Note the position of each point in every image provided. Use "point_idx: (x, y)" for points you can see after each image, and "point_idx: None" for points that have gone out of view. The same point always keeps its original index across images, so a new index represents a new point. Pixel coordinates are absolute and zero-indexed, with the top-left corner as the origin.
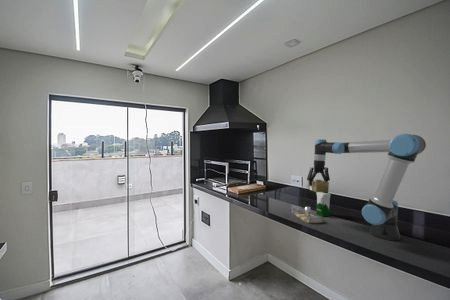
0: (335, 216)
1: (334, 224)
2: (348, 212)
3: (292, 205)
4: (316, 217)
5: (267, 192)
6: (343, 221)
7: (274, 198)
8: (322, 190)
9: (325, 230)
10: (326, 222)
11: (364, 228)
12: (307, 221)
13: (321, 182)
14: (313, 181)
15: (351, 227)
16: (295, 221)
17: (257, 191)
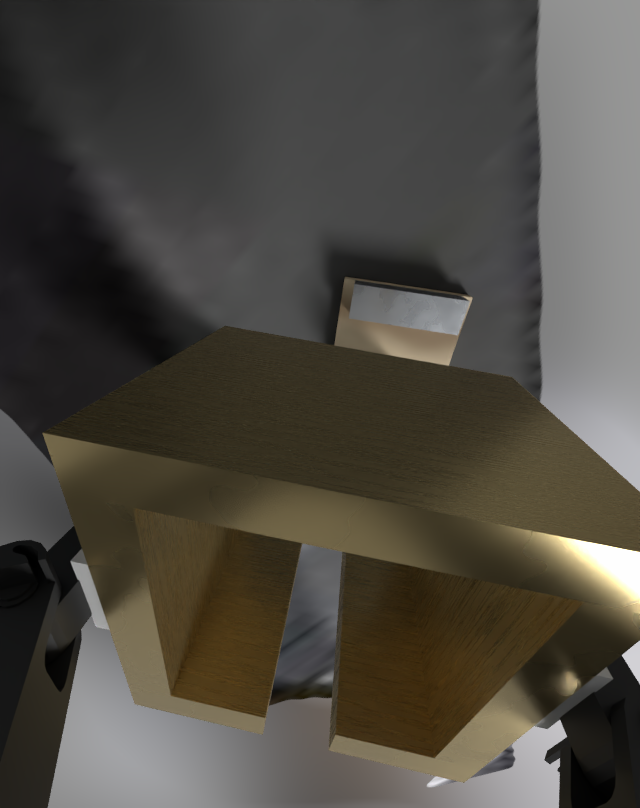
0: (172, 339)
1: (289, 212)
2: (42, 367)
3: (304, 544)
4: (402, 291)
5: (293, 676)
6: (178, 243)
7: (320, 627)
8: (358, 361)
9: (468, 115)
10: (317, 267)
11: (103, 41)
12: (469, 303)
13: (431, 514)
14: (585, 682)
15: (200, 104)
16: (515, 354)
17: (329, 694)
